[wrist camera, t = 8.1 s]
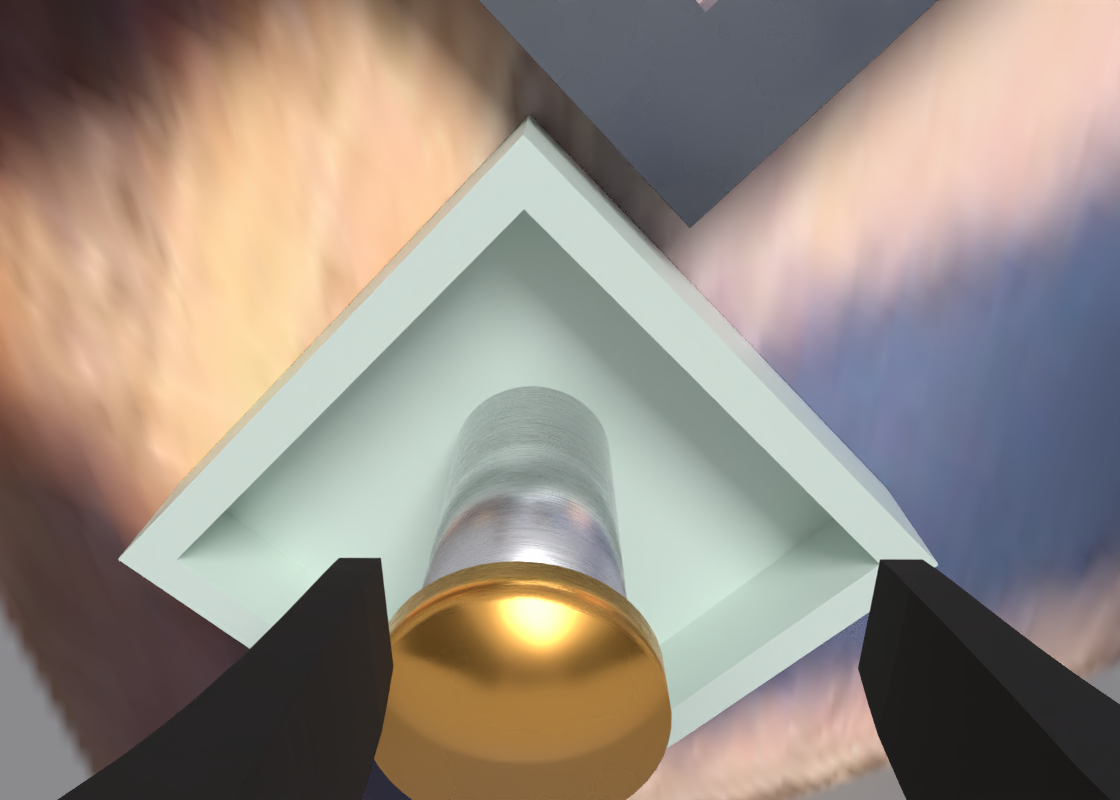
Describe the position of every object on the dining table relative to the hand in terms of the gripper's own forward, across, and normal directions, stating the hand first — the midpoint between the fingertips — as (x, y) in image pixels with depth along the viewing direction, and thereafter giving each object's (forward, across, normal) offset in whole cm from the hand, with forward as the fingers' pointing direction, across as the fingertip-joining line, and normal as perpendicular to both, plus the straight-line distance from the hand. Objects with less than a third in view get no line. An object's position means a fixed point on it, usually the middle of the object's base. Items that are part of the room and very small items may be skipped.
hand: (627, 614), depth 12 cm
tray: (+10, +2, +4) cm, 11 cm away
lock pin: (+9, +2, +3) cm, 10 cm away
